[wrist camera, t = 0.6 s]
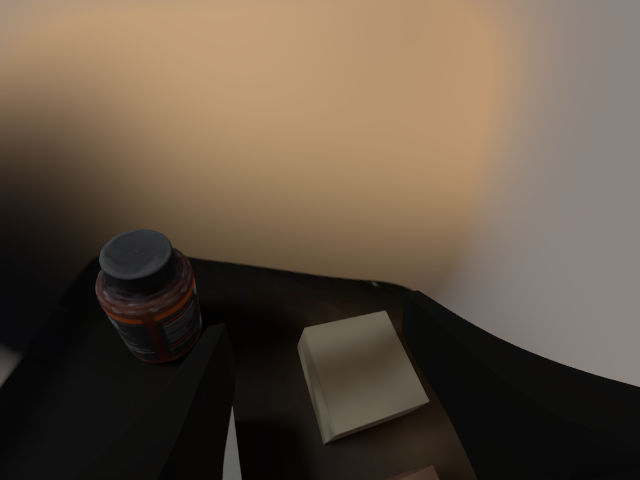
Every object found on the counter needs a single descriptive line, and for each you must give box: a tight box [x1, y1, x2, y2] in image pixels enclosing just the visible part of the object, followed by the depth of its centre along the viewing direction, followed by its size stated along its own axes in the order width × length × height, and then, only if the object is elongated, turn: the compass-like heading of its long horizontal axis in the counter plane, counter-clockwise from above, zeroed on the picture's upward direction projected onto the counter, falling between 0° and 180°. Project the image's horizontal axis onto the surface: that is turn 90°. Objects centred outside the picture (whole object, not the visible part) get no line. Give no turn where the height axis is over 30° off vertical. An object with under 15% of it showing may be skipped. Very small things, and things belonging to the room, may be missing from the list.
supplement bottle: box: [96, 229, 202, 363], centre depth 23 cm, size 6×6×11 cm
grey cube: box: [223, 407, 242, 480], centre depth 19 cm, size 5×5×5 cm
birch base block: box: [297, 311, 429, 444], centre depth 26 cm, size 8×8×4 cm
